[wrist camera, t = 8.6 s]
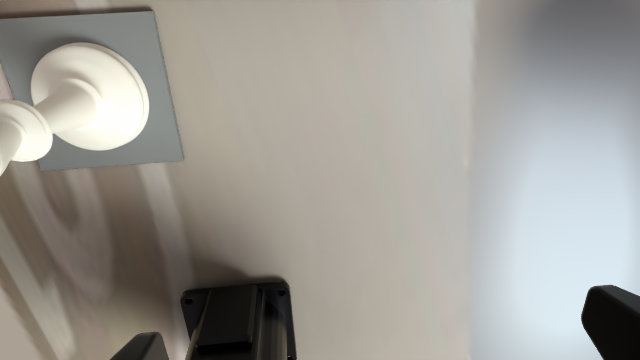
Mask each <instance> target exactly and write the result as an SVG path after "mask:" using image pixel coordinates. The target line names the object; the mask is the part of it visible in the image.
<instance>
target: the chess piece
mask: <svg viewBox="0 0 640 360" xmlns="http://www.w3.org/2000/svg"><path fill="white" fill-rule="evenodd" d="M31 95H32V100H33V103H34V106H33V107H32V106H31V105H29V104H27V103H24V102H22V101H18V100H12V99H4V100H0V176H1V175H2V173H3V172H4V171H5V169H6V168H7V166H8V163H9V161H10V160H13V161H21V162H23V161H33V160H37V159H39V158H41V157H43V156H44V155H46V154H47V153H48V151H49V150H50V148H51V146H52V142H53V134H56V135H57V136H58V137H60V138H61V139H63V140H64V141H66V142H68V143H70V144H72V145H74V146H77V147H80V148H83V149H88V150H97V151H101V150H110V149H114V148H117V147H119V146H122V145H124V144H127V143H129V142H130V141H132V140H133V139H134V138H136V137H137V136H138V135H139V134H140V132H141V131H142V130H143V128H144V126H145V124H146V122H147V119H148V114H149V98H148V93H147V90H146V87H145V85H144V83H143V81H142V79H141V77H140V75H139V74H138V72H137V71H136V70H135V69H134V67H133V66H132V65H131V64H130V63H129V62H128V61H127V60H125V59H124V58H123V57H122V56H120V55H119V54H117V53H116V52H114V51H112V50H110V49H108V48H106V47H103V46H100V45H97V44H92V43H84V42H79V43H70V44H66V45H63V46H61V47H59V48H57V49H55V50H53V51H51V52H49V53H48V54H46V55H45V56H44V57H43V58H42V59H41V60H40V61H39V62H38V64H37V65H36V67H35V69H34V72H33V75H32V79H31Z"/></svg>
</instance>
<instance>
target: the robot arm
mask: <svg viewBox="0 0 640 360" xmlns="http://www.w3.org/2000/svg"><path fill="white" fill-rule="evenodd" d="M279 290H284V291H283V292H280V291H279ZM187 298H191V299H193V300H188V299H187ZM181 306H182V310H183V314H184V318H185V322H186V326H187V330H188V334H189V338H190V345H189V348H188V351H187V355H186V358H185V360H296V359H297V355H296V344H295V334H294V324H293V315H292V305H291V295H290V287H289V285H288V284H287V283H285V282H275V283H264V284H253V285H242V286H231V287H220V288H209V289H198V290H188V291H185V292H184V293H183V295H182V297H181ZM581 321H582V324H583V327H584V329H585V330H586V332H587V334H588V335H589V337H590V338H591V340H592V342H593V343H594V345H595V347H596V348H597V350H598V351H599V353H600V355H601V356H602V358H603V360H640V296H638V295H635V294H633V293H631V292H628V291H626V290H623V289H621V288H619V287H617V286H613V285H603V286H594V287H591V288H590V289H589V291H588V293H587V297H586V300H585V304H584V308H583V311H582V314H581ZM288 356H291V357H288ZM110 360H169V358H168V355H167V351H166V348H165V345H164V342H163V338H162V336H161V334H160V333H159V332H148V333H140V334H138V335H136V336H135V337H134V338H132V339H131V340H130V341H129V342H128V343H127V344H126V345H125V346H124V347H123V348H122V349H121V350H120V351H118V352H117V353H116V354H115V355H114V356H113V357H112V358H111V359H110Z"/></svg>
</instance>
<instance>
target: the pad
mask: <svg viewBox="0 0 640 360" xmlns="http://www.w3.org/2000/svg"><path fill="white" fill-rule="evenodd" d="M79 42H84V43H92V44H97V45H100V46H103V47H106V48H108V49H110V50H112V51H114V52H116V53H117V54H119V55H120V56H122V57H123V58H124V59H125V60H127V61H128V62H129V63H130V64H131V65H132V66H133V67H134V69H135V70H136V71H137V72H138V74H139V75H140V77H141V79H142V81H143V83H144V85H145V87H146V90H147V93H148V98H149V114H148V119H147V122H146V124H145V126H144V128H143V130H142V131H141V132H140V134H139V135H138V136H137V137H136V138H134V139H133V140H132V141H130V142H129V143H127V144H124V145H122V146H119V147H117V148H114V149H110V150H101V151H97V150H88V149H83V148H80V147H77V146H74V145H72V144H70V143H68V142H66V141H64V140H63V139H61V138H60V137H58V136H57V135H56V134H53V142H52V146H51V148H50V150H49V151H48V153H47V154H46V155H44V156H43V157H41V158H39V159H37V160H38V163H39V166H40V169H41V171H50V170H64V169H77V168H91V167H105V166H118V165H132V164H146V163H159V162H173V161H183V160H184V154H183V150H182V145H181V140H180V135H179V130H178V125H177V121H176V116H175V111H174V106H173V101H172V96H171V92H170V87H169V82H168V77H167V72H166V67H165V62H164V58H163V53H162V48H161V43H160V38H159V33H158V29H157V24H156V19H155V14H154V11H144V12H125V13H106V14H87V15H68V16H49V17H30V18H11V19H0V62H1V64H2V67H3V70H4V72H5V75H6V78H7V80H8V83H9V86H10V88H11V91H12V94H13V96H14V99H15V100H18V101H22V102H24V103H27V104H29V105H31V106H32V107H33V106H34V103H33V100H32V95H31V79H32V75H33V72H34V69H35V67H36V65H37V64H38V62H39V61H40V60H41V59H42V58H43V57H44V56H45V55H46V54H48V53H49V52H51V51H53V50H55V49H57V48H59V47H61V46H63V45H66V44H70V43H79Z"/></svg>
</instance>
